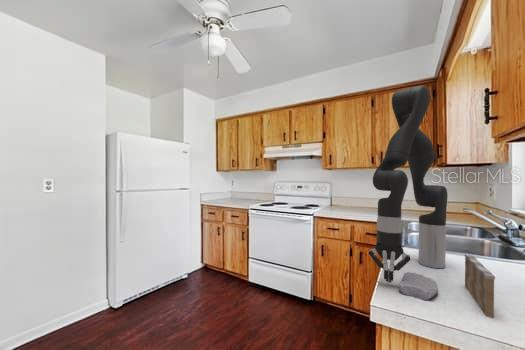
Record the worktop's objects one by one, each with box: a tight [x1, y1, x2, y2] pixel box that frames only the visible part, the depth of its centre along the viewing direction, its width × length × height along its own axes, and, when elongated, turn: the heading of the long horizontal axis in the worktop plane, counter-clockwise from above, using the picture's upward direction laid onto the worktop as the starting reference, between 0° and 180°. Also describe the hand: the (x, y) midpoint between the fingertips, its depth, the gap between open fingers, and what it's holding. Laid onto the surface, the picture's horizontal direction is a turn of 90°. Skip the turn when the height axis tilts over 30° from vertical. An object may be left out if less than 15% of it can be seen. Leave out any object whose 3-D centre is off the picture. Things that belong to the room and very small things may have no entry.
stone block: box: [398, 271, 440, 301], centre depth 76 cm, size 12×5×10 cm
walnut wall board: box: [464, 253, 496, 319], centre depth 71 cm, size 20×2×11 cm, turn 152°
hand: (388, 280), depth 80 cm, fingers closed
